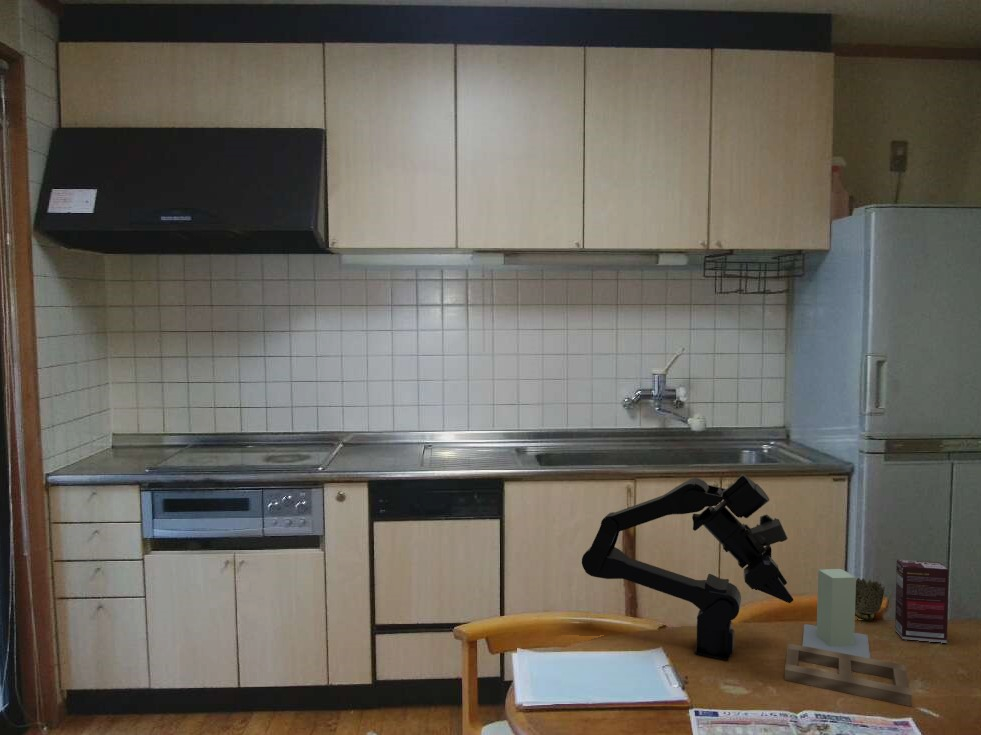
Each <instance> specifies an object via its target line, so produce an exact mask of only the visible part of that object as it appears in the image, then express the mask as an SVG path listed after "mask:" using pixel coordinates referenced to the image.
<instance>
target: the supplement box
mask: <svg viewBox="0 0 981 735" xmlns="http://www.w3.org/2000/svg"><path fill="white" fill-rule="evenodd" d="M895 569H896V570H895V571H896V573H895V574H896V575H895V576H896V577H895V578H896V579H895V612H894V613H895V616H894V617H895V618H894V619H895V620H894V621H895V622H894V632H895V631H896V632H897V633H898V634H899V635H900V636H901V637H902V639H910V640H919V641H929V642H928V643H930V642H941V643H940V644H942V643H948V622H949V621H948V620H949V619H948V617H949V572H950V571H949V570H950V569H949V568H948V567H946V566H945V565H944V564H942V563H941V562H938V561H926V560H924V561H923V560H911V559H909V560H908V559H896V568H895ZM896 632H895V633H896ZM897 633H896V634H897ZM898 634H897V635H898ZM899 635H898V636H899ZM900 636H899V637H900ZM902 639H901V640H902ZM919 641H918V642H919Z"/></svg>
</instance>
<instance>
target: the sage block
mask: <svg viewBox="0 0 981 735" xmlns="http://www.w3.org/2000/svg"><path fill="white" fill-rule="evenodd" d="M817 576H818V577H817V604H816V609H817V610H816V626H817V636H818V637H819V638H820V639H822V640H823V641H824V642H826V643H827V644H828V645H830V646H850V645H854V633H855V630H856V629H855V625H856V624H855V623H856V614H855V612H856V610H855V598H856V580H857V577H856V576H854V574H853V575H852V573H849V572H848V571H846V570H844V569H842V568H831V569H830V568H827V569H826V568H825V569H818V570H817Z"/></svg>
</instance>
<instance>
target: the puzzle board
mask: <svg viewBox="0 0 981 735" xmlns="http://www.w3.org/2000/svg"><path fill="white" fill-rule="evenodd" d="M785 658H786V659H785V666H784V681H788V682H793V683H796V684H802V685H807V686H812V687H816V688H820V689H825V690H831V691H836V692H841V693H845V694H850V695H855V696H860V697H863V698H864V697H865V698H869V699H874V700H879V701H884V702H888V703H894V704H898V705H903V706H907V707H912V693H911V688H910V684H909V681H908V680H909V679H908V674H907V670H906V666H905V664H902V663H901V664H900V663H895V662H893V661H892V662H891V661H886V660H880V659H875V658H871V657H870V658H865V657H860V656H854V655H849V654H844V653H838V652H833V651H827V650H822V649H817V648H811V647H806V646H802V644H801V645H799V644H794V643H789V642H788V645H787V651H786V657H785ZM799 662H805V663H810V664H816V665H820V666H825V667H831V668H835V669H838V673H835V672H829V671H824V670H819V669H815V668H809V667H804V666H801V665H800V666H799ZM851 670H852V671H851ZM852 672H855V673H860V672H861V673H860V674H865V675H871V676H877V677H881V676H882V678H886V677H887V679H891V678H893V679H892V681H893V684H890V683H885V682H879V681H875V680H870V679H865V678H860V677H855V676H853V675H852Z"/></svg>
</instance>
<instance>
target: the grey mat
mask: <svg viewBox="0 0 981 735" xmlns="http://www.w3.org/2000/svg"><path fill="white" fill-rule="evenodd" d="M801 646H806V647H811V648H817V649H822V650H827V651H833V652H838V653H844V654H849V655H854V656H860V657H865V658H870V659H871V654H870V645H869V637H868V634H865V633H864V634H863V633H858V632H854V645H850V646H830V645H828V644H827V643H826V642H824V641H823V640H822V639H820V638H819V637H818V636H817V625H812V624H806V623H804V625H803V636H802V644H801Z"/></svg>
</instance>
